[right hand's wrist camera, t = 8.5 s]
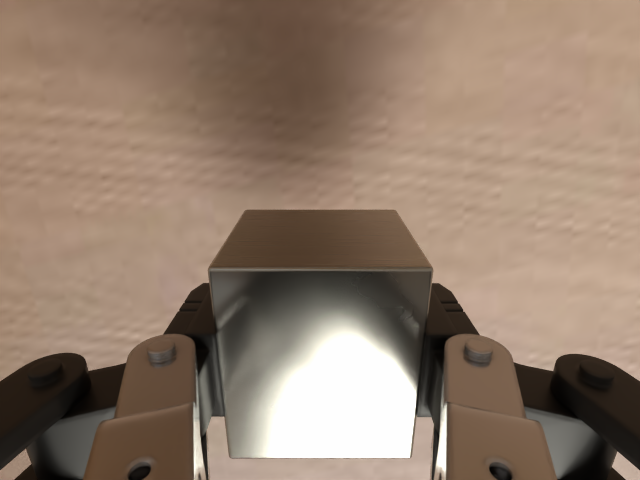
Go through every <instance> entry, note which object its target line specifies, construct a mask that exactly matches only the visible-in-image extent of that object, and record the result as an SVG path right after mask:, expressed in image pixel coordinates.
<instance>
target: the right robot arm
mask: <svg viewBox="0 0 640 480" xmlns="http://www.w3.org/2000/svg"><path fill="white" fill-rule="evenodd" d="M416 415H417V417H432V420H433V423H434V429H433V436H432V449H431V468H430V480H625V479H624V478H623V477H622V476H621V475H620V474H619V473H618V472H617V471H616V470H614V469H613V468H612V464H613V462H614V459H615V456H616V454H617V451H618V452H619V453H620V454H622V455H623V456H624V457H625V458H626V459H627V460H629V461H630V462H631V463H632V464H633V465H634V466H636V467H637V468H638V469H639V470H640V381H638V380H637V379H635V378H634V377H632V376H631V375H629V374H628V373H626V372H625V371H623V370H622V369H620V368H618V367H617V366H615V365H613V364H611V363H609V362H606V361H604V360H602V359H599V358H596V357H592V356H588V355H582V354H567V355H563V356H561V357H559V358H558V359H557V360H556V363H555V367H554V371H549V370H544V369H539V368H534V367H529V366H525V365H520V364H517V363H514V362H513V358H512V355H511V354H510V352H509V351H508V350H507V349H506V348H505V347H504V346H503V345H501V344H500V343H498V342H496V341H494V340H492V339H490V338H487V337H484V336H480V335H479V333H478V332H477V330H476V329H475V327H474V326H473V324H472V323H471V321H470V319H469V318H468V316H467V315H466V313H465V312H463V309H462V307H461V306H460V304H458V301H457V300H456V298H455V297H454V295H453V294H452V292H451V291H449V290H448V289H446V288H445V287H443V286H442V285H440V284H439V283H432V286H431V295H430V303H429V312H428V321H427V330H426V334H425V343H424V352H423V361H422V369H421V378H420V387H419V396H418V404H417V413H416ZM211 416H226V410H225V401H224V392H223V383H222V374H221V365H220V356H219V347H218V338H217V333H215V329H214V320H213V311H212V302H211V294H210V285H209V283H203V284H201V285H200V286H198V287H197V288H195V289H194V290H193V291H191V292H190V294H189V295H188V297H187V299H186V300H185V303H183V305H182V306H181V308H180V309H179V312H177V314H176V316H175V317H174V319H173V320H172V322H171V323H170V325H169V326H168V328H167V329H166V331H165V333H164V334H163V335H160V336H156V337H153V338H150V339H148V340H146V341H144V342H142V343H140V344H139V345H137V346H136V347H135V348H134V349H133V350H132V351H131V352H130V354H129V356H128V358H127V362H126V363H124V364H120V365H116V366H111V367H106V368H101V369H97V370H92V371H88V368H87V364H86V361H85V359H84V357H82V356H81V355H78V354H75V353H59V354H53V355H49V356H46V357H43V358H40V359H37V360H35V361H33V362H31V363H29V364H27V365H25V366H23V367H22V368H20V369H18V370H17V371H15V372H14V373H12V374H11V375H9V376H8V377H6V378H5V379H3V380H2V381H0V470H1V469H2V468H3V467H4V466H6V465H7V464H8V463H9V462H10V461H11V460H13V459H14V458H15V457H16V456H17V455H18V454H20V453H21V452H22V451H23V450H24V449H25V448H26V450H27V453H28V455H29V458H30V461H31V465H30V466H29V467H28V468H27V469H26V470H24V471H23V472H22V473H21V474H20V475H19V476H18V477H17V478H16V479H15V480H210V468H209V449H208V436H207V428H208V425H209V422H210V419H211Z"/></svg>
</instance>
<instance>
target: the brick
mask: <svg viewBox="0 0 640 480" xmlns="http://www.w3.org/2000/svg"><path fill="white" fill-rule="evenodd" d="M208 276H209V285H210V294H211V302H212V311H213V320H214V329H215V333H217V338H218V347H219V356H220V365H221V374H222V383H223V392H224V401H225V410H226V416H224V417H225V426H226V434H227V443H228V452H229V457H230V458H232V459H409V458H411V457H412V451H413V443H414V434H415V425H416V417H417V415H416V413H417V404H418V396H419V387H420V378H421V369H422V361H423V352H424V343H425V334H426V330H427V321H428V312H429V303H430V295H431V286H432V277H433V268H432V266H431V264H430V263H429V261H428V260H427V258H426V257H425V255H424V254H423V252H422V250H421V249H420V247H419V246H418V244H417V243H416V241H415V240H414V238H413V236H412V235H411V233H410V232H409V230H408V229H407V227H406V226H405V224H404V222H403V221H402V219H401V218H400V216H399V215H398V213H397V212H396V210H245V211H244V213H243V215H242V216H241V218H240V219H239V221H238V222H237V224H236V225H235V227H234V229H233V230H232V232H231V233H230V235H229V236H228V238H227V240H226V241H225V243H224V244H223V246H222V247H221V249H220V250H219V252H218V254H217V255H216V257H215V258H214V260H213V261H212V263H211V265H210V266H209V268H208Z"/></svg>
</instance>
